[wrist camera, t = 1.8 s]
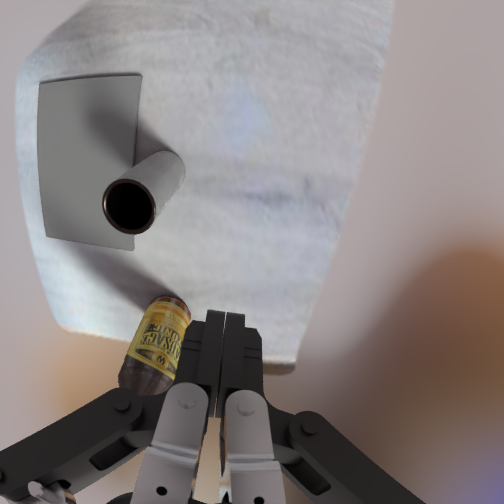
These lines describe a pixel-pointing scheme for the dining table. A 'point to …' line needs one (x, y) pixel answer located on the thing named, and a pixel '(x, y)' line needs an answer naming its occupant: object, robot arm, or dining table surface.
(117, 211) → the grey hollow cylinder
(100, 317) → the dining table surface
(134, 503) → the robot arm
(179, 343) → the sauce bottle
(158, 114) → the dining table surface
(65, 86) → the mat
